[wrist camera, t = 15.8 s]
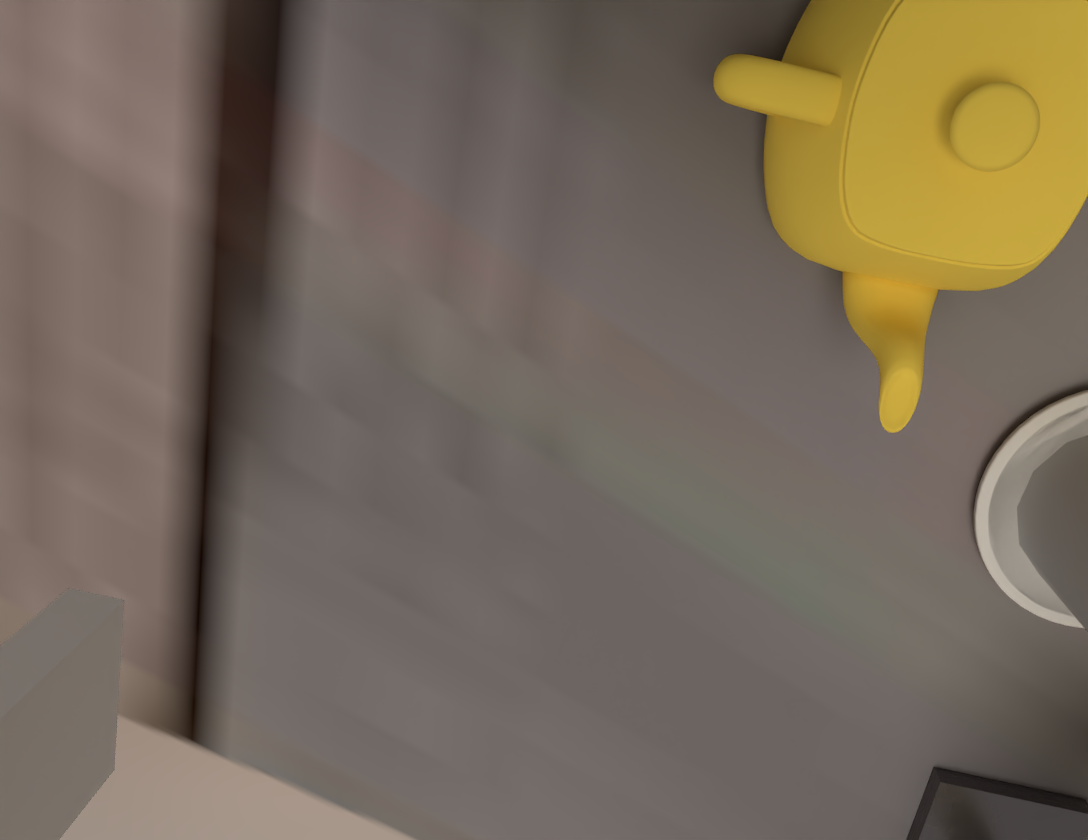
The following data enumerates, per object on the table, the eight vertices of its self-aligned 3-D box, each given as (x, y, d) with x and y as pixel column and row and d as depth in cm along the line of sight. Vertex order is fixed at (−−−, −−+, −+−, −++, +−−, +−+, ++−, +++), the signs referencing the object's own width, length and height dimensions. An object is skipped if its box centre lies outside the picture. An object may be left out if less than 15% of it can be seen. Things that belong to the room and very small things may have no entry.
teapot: (763, -205, 40) (806, -313, 29) (1152, -136, 39) (1335, -221, 29) (647, 326, 47) (650, 389, 36) (977, 391, 46) (1074, 473, 36)
